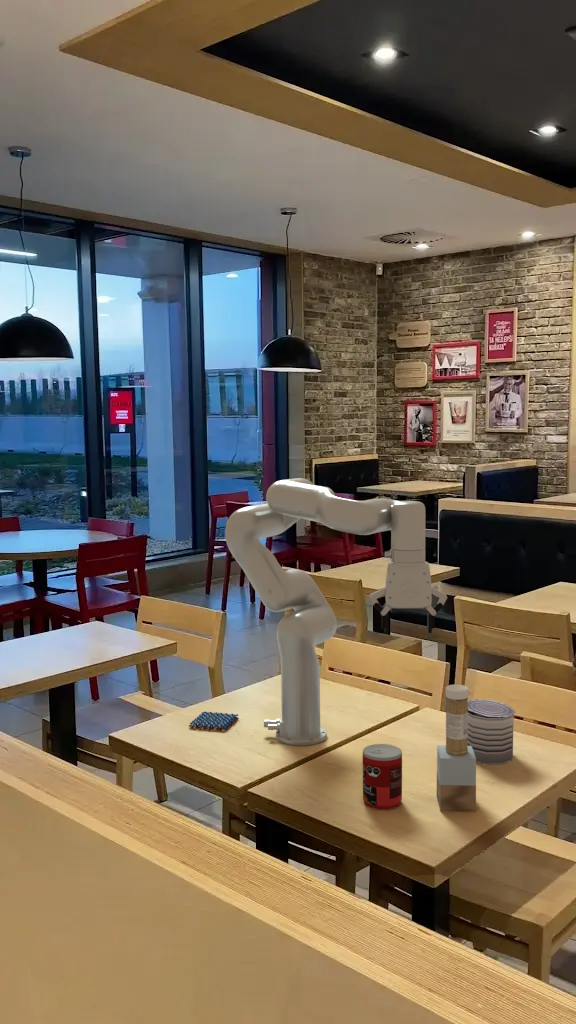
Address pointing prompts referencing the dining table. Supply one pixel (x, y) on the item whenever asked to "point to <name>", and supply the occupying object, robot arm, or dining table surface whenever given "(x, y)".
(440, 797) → the tower base slab
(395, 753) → the canned food
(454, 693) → the sprinkles bottle
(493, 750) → the can
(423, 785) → the dining table surface
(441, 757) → the pale grey-blue cube
